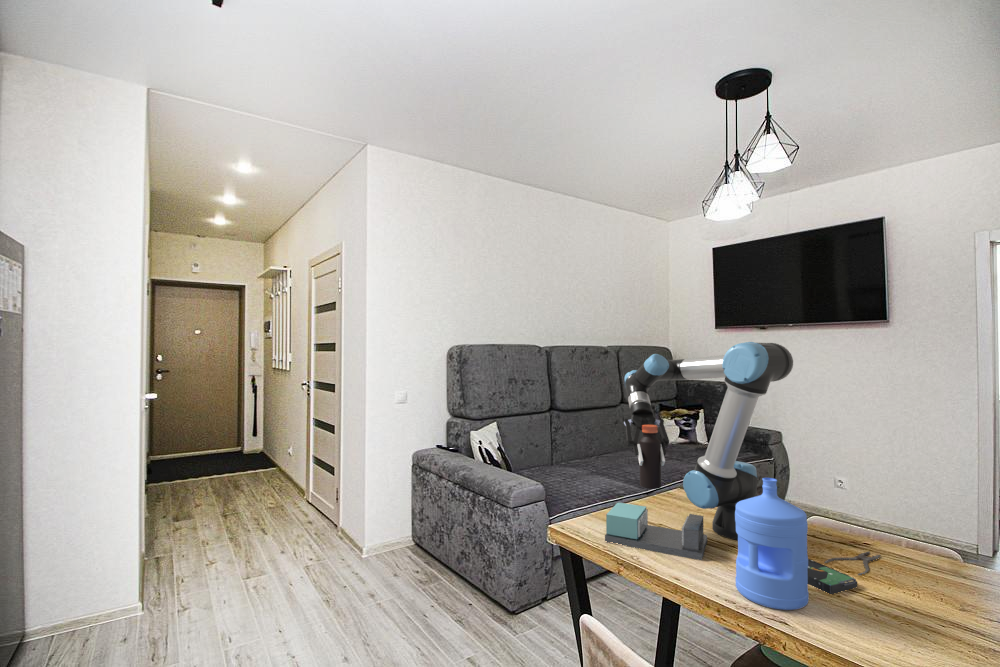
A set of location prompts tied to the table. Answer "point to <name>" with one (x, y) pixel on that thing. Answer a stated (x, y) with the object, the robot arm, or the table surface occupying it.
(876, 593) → the table surface
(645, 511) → the block
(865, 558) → the pliers
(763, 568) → the water jug
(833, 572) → the disk drive
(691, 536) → the vise base
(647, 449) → the vinegar
